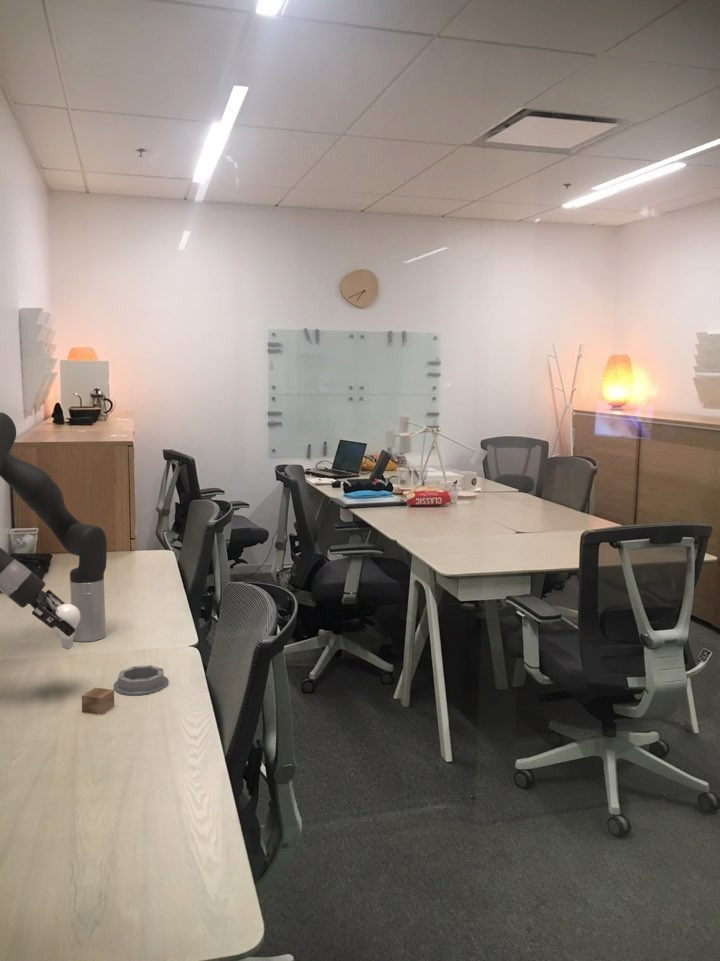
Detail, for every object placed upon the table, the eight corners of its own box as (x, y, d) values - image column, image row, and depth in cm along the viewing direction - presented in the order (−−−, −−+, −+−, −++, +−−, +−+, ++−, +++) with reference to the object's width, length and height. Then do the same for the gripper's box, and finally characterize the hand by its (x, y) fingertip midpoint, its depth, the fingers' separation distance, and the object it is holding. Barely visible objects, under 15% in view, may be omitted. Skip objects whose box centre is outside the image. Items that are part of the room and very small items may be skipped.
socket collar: (102, 687, 187) (101, 675, 187) (144, 671, 198) (143, 660, 198) (138, 700, 180) (138, 687, 180) (179, 682, 191) (179, 670, 190)
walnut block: (82, 712, 173) (81, 695, 173) (95, 704, 178) (94, 687, 177) (101, 715, 172) (100, 698, 171) (114, 706, 177) (113, 689, 176)
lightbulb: (87, 646, 186) (85, 601, 184) (69, 654, 180) (67, 609, 178) (66, 642, 188) (64, 599, 186) (47, 651, 182) (45, 606, 181)
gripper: (13, 586, 186) (67, 630, 190) (0, 603, 172) (58, 650, 176) (35, 564, 187) (89, 608, 191) (24, 579, 173) (82, 626, 177)
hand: (74, 628), depth 184 cm, fingers closed on lightbulb, 6 cm apart
